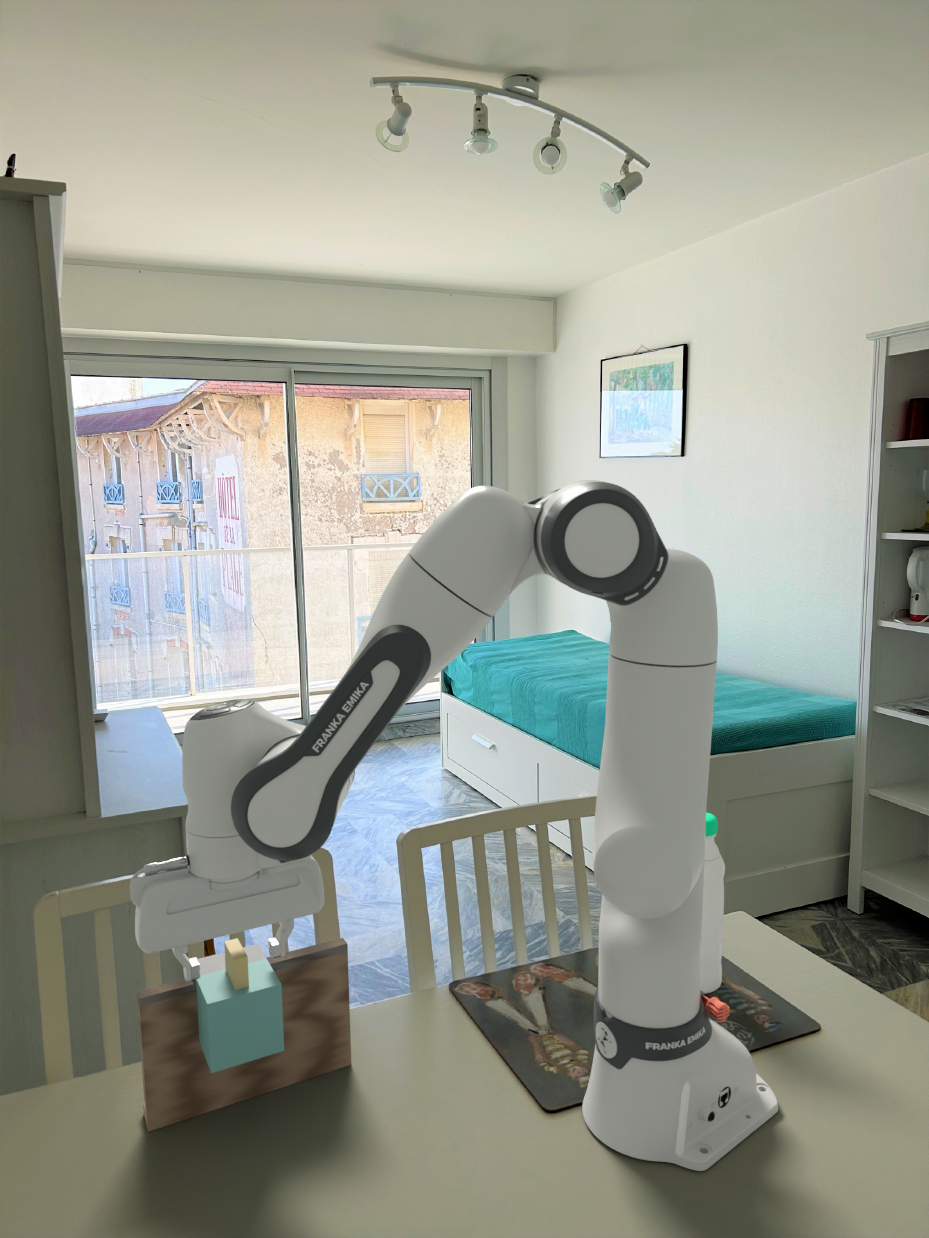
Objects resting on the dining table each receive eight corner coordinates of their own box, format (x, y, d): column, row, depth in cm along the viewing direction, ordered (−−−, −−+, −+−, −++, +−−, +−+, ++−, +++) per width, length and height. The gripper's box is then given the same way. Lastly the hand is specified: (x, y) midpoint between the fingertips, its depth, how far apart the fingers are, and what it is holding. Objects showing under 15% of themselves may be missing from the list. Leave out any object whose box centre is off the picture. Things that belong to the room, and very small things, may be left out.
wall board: (342, 1049, 112) (338, 931, 110) (351, 1064, 109) (347, 943, 107) (143, 1113, 101) (134, 983, 98) (148, 1131, 98) (138, 998, 95)
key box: (260, 1005, 106) (256, 916, 105) (284, 1050, 98) (280, 954, 96) (192, 1024, 103) (187, 932, 101) (211, 1073, 94) (205, 973, 92)
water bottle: (723, 998, 122) (729, 826, 119) (671, 993, 124) (675, 823, 120) (719, 971, 129) (724, 808, 125) (670, 966, 130) (673, 805, 127)
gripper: (132, 879, 88) (141, 1007, 90) (327, 839, 98) (331, 956, 100) (124, 857, 94) (132, 977, 96) (309, 821, 103) (313, 932, 105)
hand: (235, 966), depth 98 cm, fingers open, 8 cm apart
